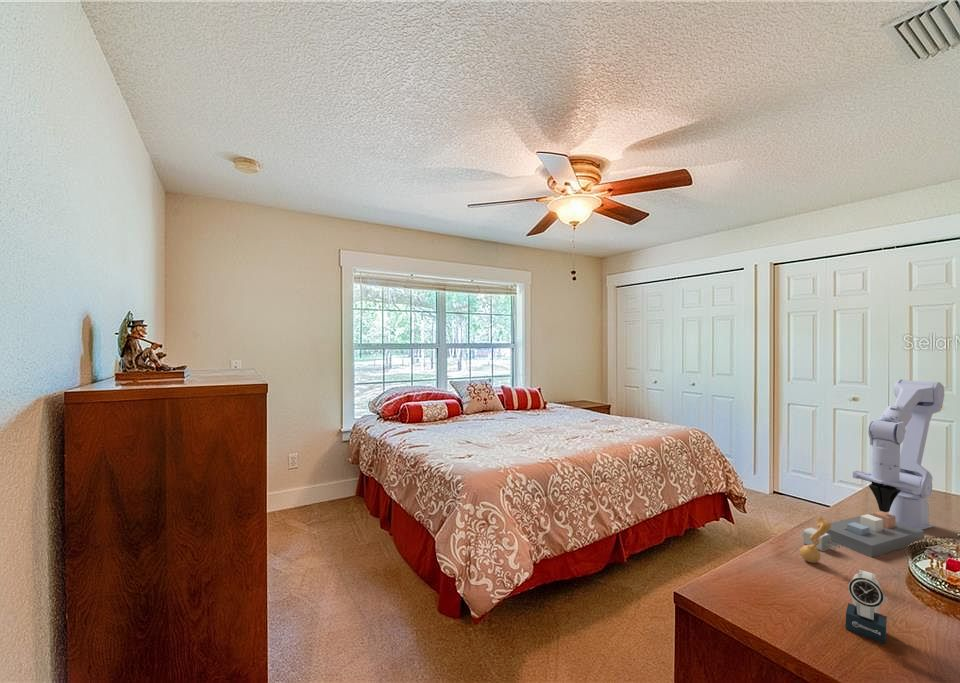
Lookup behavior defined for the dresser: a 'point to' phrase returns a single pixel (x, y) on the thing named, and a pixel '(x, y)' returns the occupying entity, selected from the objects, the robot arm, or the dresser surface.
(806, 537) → the usb wall charger
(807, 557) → the figurine
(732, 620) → the dresser surface
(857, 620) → the watch
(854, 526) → the blue key
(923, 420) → the robot arm
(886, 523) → the terracotta key
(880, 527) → the white key
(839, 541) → the key panel
